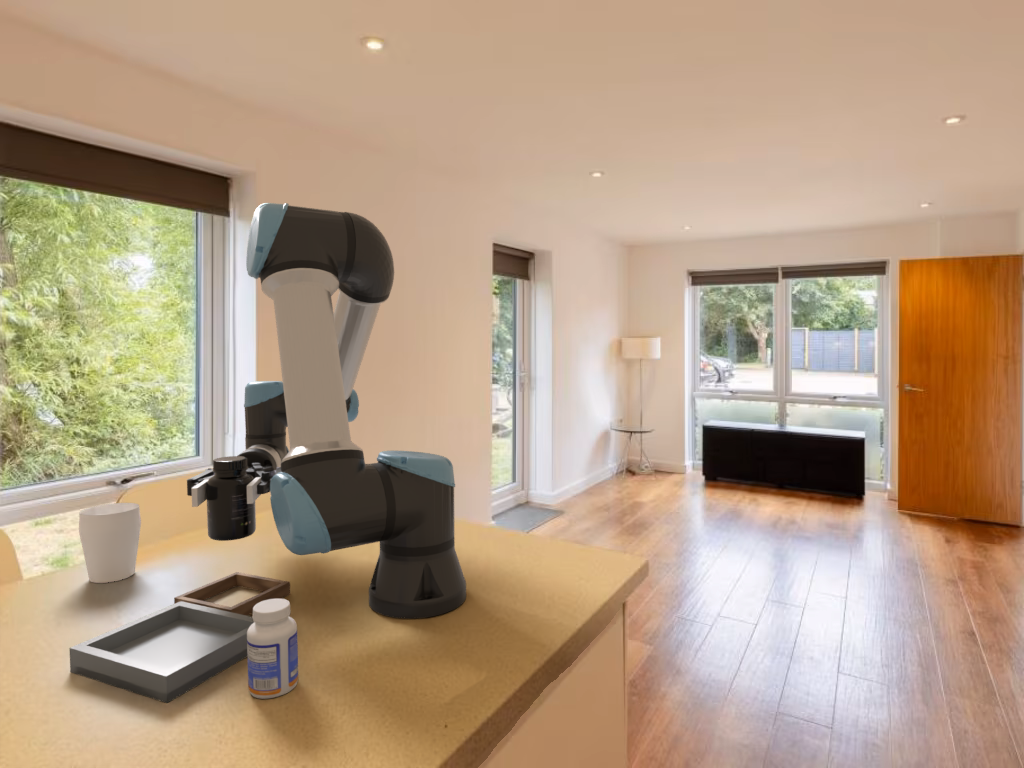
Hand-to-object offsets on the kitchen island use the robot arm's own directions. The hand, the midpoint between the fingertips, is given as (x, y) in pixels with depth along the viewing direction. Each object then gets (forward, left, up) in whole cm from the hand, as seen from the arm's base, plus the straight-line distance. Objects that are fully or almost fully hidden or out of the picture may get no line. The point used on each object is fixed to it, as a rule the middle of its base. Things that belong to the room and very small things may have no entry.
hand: (222, 496), depth 87 cm
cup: (+32, -4, -18) cm, 37 cm away
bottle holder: (+3, -4, -18) cm, 19 cm away
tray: (-4, +11, -18) cm, 22 cm away
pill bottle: (-21, +12, -18) cm, 30 cm away
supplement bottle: (+3, -4, -7) cm, 9 cm away
